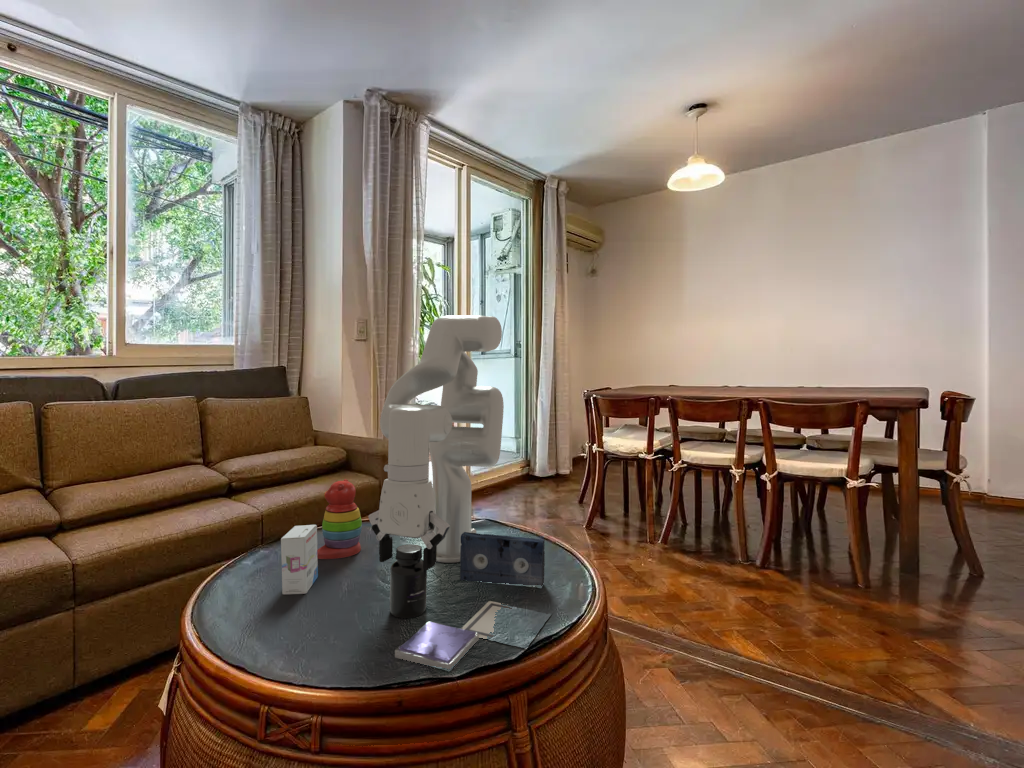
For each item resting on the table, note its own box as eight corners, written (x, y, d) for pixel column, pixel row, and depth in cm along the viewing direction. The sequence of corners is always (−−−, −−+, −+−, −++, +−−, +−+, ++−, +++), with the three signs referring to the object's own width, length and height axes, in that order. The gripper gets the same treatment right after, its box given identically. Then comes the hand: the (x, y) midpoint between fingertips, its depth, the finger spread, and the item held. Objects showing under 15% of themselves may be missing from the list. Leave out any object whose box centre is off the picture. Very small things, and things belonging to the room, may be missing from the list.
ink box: (295, 577, 111) (294, 523, 111) (318, 577, 111) (318, 523, 111) (280, 595, 103) (280, 537, 102) (306, 594, 103) (306, 536, 103)
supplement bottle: (418, 621, 93) (418, 556, 92) (383, 617, 94) (383, 553, 93) (431, 604, 99) (432, 543, 99) (399, 600, 101) (399, 540, 100)
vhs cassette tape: (544, 584, 109) (545, 538, 109) (542, 590, 106) (542, 543, 106) (463, 575, 114) (464, 531, 113) (459, 580, 111) (459, 535, 110)
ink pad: (428, 628, 90) (428, 619, 90) (479, 640, 86) (479, 631, 86) (394, 657, 81) (394, 648, 81) (449, 672, 77) (449, 662, 77)
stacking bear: (329, 543, 132) (329, 475, 132) (367, 544, 132) (367, 476, 131) (311, 559, 122) (311, 485, 121) (353, 560, 121) (353, 486, 121)
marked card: (489, 601, 100) (489, 600, 100) (551, 614, 95) (551, 613, 95) (457, 633, 89) (457, 631, 88) (526, 650, 83) (526, 648, 83)
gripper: (358, 472, 95) (356, 563, 95) (437, 480, 89) (436, 578, 89) (383, 466, 102) (381, 551, 102) (458, 473, 96) (457, 564, 96)
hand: (407, 563), depth 96 cm, fingers open, 9 cm apart
